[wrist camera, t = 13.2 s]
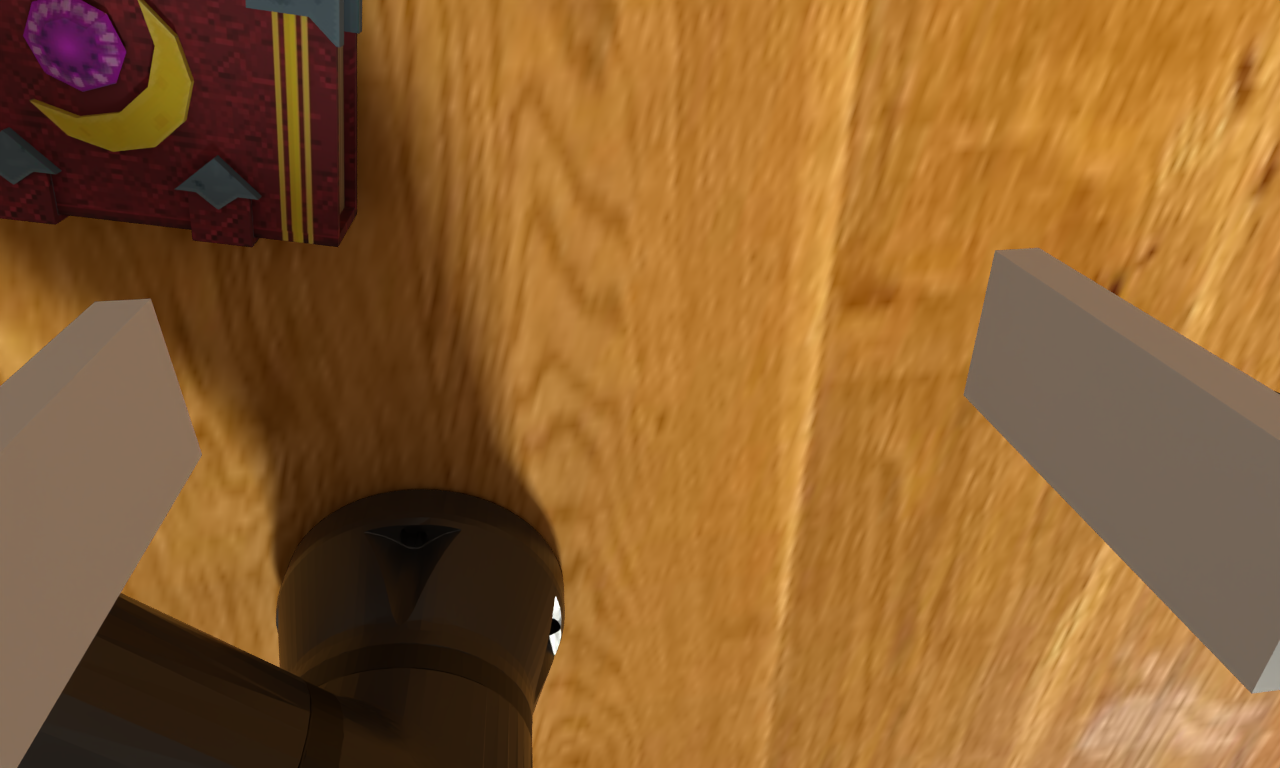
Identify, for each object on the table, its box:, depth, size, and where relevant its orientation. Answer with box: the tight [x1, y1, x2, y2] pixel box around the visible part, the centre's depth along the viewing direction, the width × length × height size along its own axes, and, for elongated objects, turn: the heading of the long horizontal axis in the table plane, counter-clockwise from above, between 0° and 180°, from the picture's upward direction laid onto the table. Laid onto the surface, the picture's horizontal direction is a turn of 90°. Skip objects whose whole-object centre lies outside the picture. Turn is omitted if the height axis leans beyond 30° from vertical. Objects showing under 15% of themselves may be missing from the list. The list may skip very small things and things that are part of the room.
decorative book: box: [0, 0, 362, 247], centre depth 28 cm, size 11×16×5 cm
